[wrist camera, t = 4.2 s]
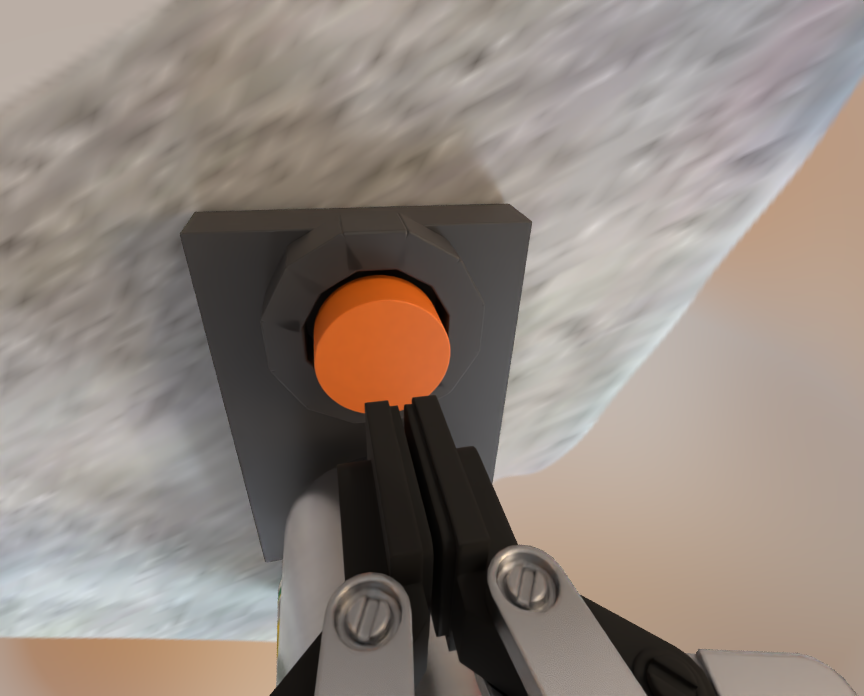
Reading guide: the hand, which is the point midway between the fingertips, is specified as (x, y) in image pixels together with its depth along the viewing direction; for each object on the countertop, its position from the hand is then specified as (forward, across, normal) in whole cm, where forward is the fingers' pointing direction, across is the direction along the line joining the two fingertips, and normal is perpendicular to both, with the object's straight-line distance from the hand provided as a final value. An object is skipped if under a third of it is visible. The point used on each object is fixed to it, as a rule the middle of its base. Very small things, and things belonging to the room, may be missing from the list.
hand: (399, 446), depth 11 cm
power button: (+5, 0, 0) cm, 5 cm away
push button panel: (+9, 0, +5) cm, 10 cm away
